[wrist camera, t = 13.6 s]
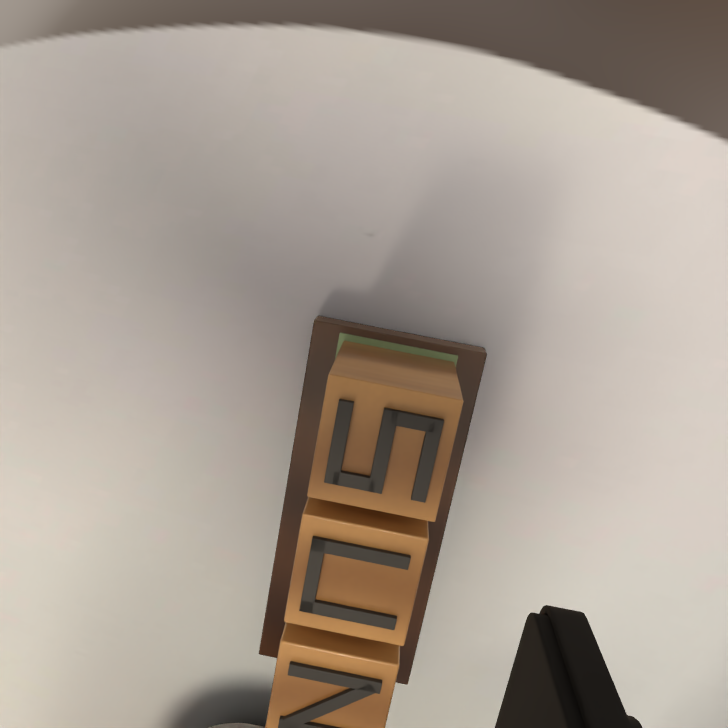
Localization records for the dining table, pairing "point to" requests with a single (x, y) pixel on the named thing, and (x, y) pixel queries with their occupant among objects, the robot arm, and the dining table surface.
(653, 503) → the dining table surface
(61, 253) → the dining table surface
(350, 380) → the letter block S
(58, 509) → the dining table surface
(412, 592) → the word rack
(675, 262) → the dining table surface
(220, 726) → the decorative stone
